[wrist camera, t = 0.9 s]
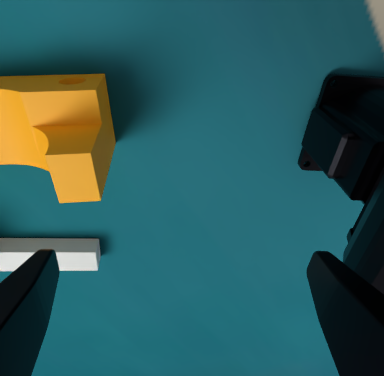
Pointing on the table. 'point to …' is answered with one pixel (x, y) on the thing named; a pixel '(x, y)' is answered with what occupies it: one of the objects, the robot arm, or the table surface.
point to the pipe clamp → (59, 130)
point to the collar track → (64, 247)
